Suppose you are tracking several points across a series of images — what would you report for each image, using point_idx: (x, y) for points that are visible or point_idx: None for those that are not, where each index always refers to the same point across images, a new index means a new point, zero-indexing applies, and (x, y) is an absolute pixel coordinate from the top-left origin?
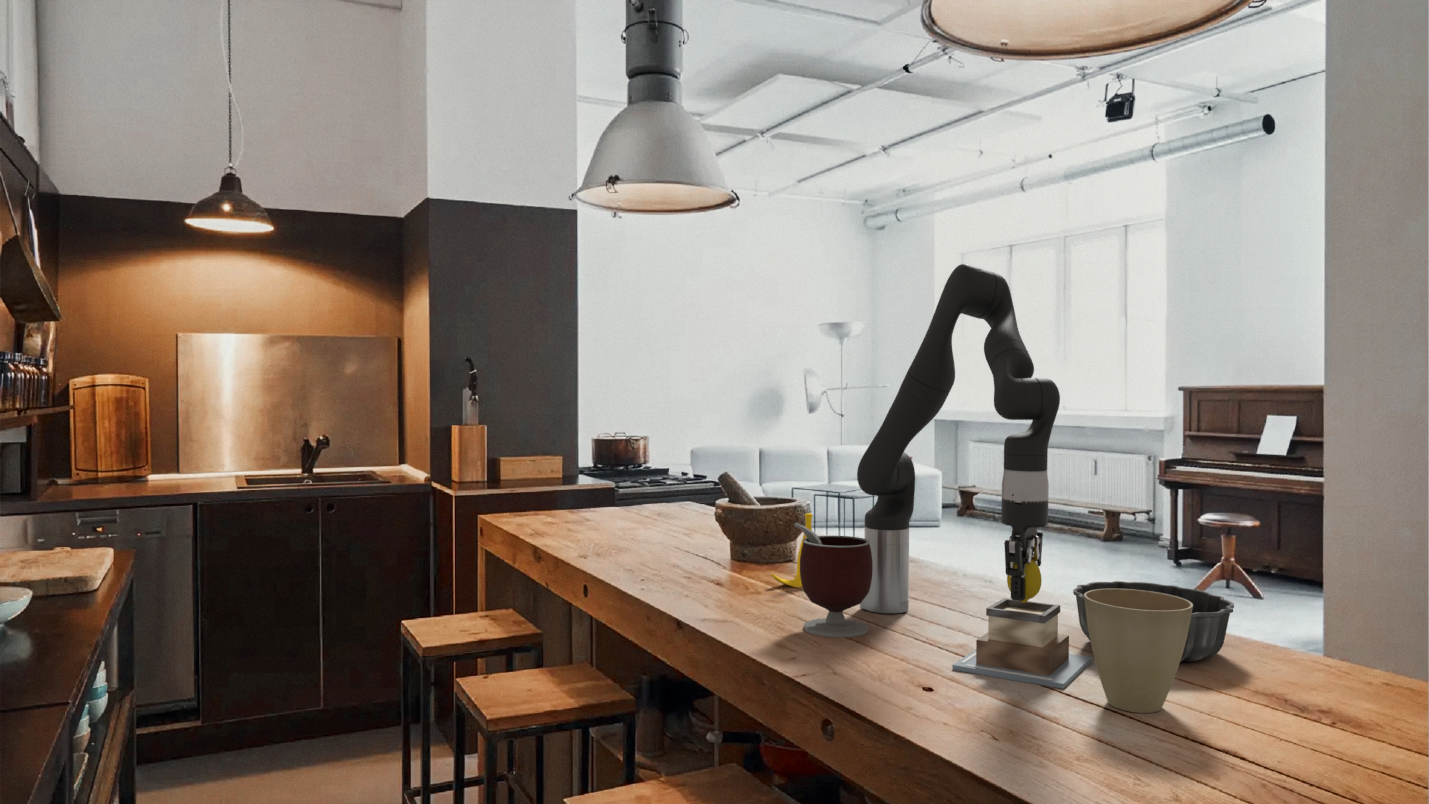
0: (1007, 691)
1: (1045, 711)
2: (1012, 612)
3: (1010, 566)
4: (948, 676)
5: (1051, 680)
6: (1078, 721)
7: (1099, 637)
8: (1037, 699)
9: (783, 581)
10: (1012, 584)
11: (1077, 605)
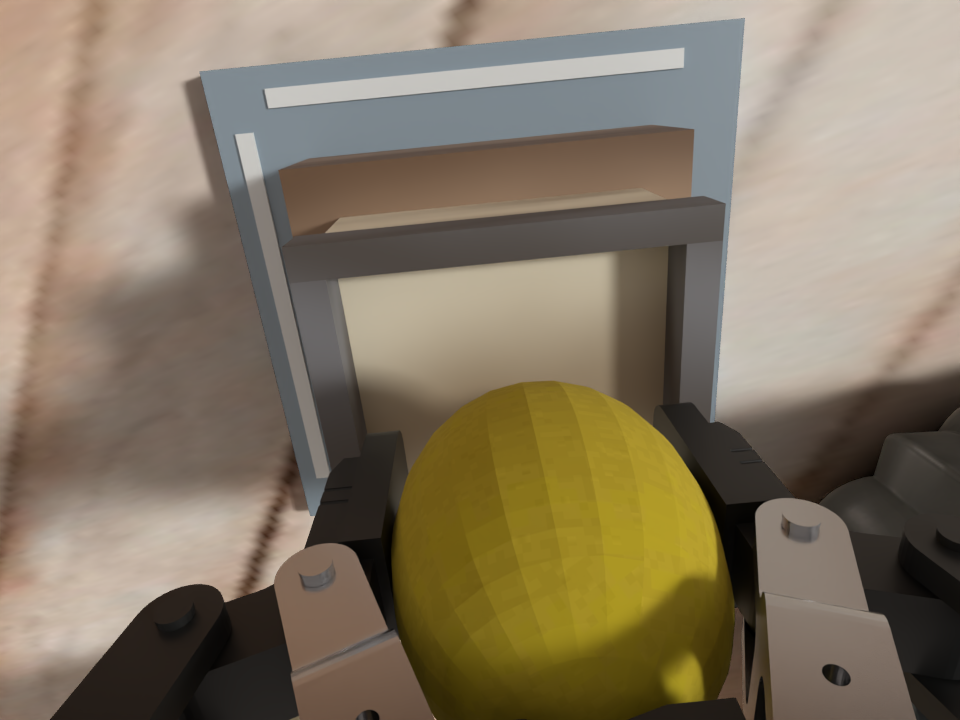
0: (132, 384)
1: (52, 541)
2: (324, 422)
3: (195, 688)
4: (103, 108)
5: (315, 477)
6: (57, 625)
7: None
8: (140, 486)
9: None
10: (314, 529)
11: None
